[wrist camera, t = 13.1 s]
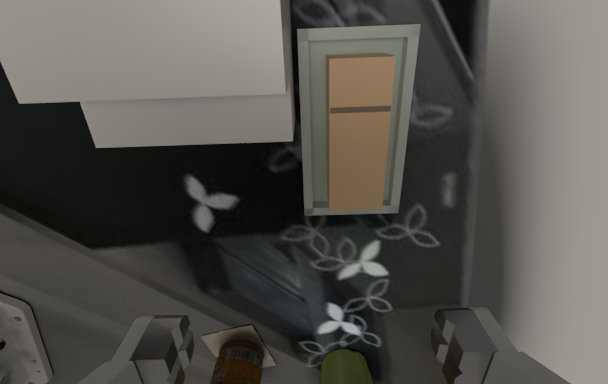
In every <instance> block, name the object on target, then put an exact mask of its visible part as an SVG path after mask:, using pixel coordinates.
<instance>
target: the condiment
mask: <svg viewBox="0 0 608 384" xmlns="http://www.w3.org/2000/svg"><path fill="white" fill-rule="evenodd" d="M201 338H202V339H203V341H204V342H205V343H206V345H207V346H208V348H209V349H210V350H211V352H212V353H213V354H214V355H215V356H216V358H217V362H216V365H215V369H214V372H213V377H212V379H211V382H210V384H260V381H261V374H262V368H263V367H270V366H274V365H276V364H275V362H274V360H273V358H272V356H271V355H270V353H269V351H268V350H267V348H266V347H265V345H264V344H263V343H262V341H261V339H260V337H259V335H258V334H257V332H256V331H255V329H254V328H253V326H252V325H250V326H243V327H238V328H233V329H229V330H225V331H220V332H217V333H212V334H209V335H205V336H201ZM252 340H253V341H252ZM222 341H224V342H223V344H222Z"/></svg>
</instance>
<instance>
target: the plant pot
mask: <svg viewBox="0 0 608 384" xmlns="http://www.w3.org/2000/svg"><path fill="white" fill-rule="evenodd" d="M320 384H373V381H372V378H371V375H370V372H369V369H368V366H367V363H366V360H365V358H364V356H363V355H362V354H361V353H359V352H352V351H350V350H348V349H339V350H335V351H332V352H330V353H328V354H327V355H326V356H325V358H324V359H323V361H322V362H321V374H320Z"/></svg>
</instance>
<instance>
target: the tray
mask: <svg viewBox="0 0 608 384" xmlns="http://www.w3.org/2000/svg"><path fill="white" fill-rule="evenodd" d="M420 26H421V24H410V25H386V26H361V27H337V28H312V29H297V40H298V65H299V89H300V113H301V138H302V162H303V187H304V211H305V216H310V215H345V214H380V213H398V211H399V203H400V194H401V186H402V177H403V169H404V161H405V152H406V144H407V135H408V127H409V118H410V110H411V102H412V93H413V85H414V76H415V68H416V59H417V51H418V42H419V34H420ZM361 53H386V54H390V55H393V56H396V61H395V72H394V84H393V95H392V106H391V117H390V128H389V140H388V151H387V162H386V173H385V184H384V195H383V207H382V209H378V210H345V211H329V204H328V197H327V179H326V55H336V54H361Z"/></svg>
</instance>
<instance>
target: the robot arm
mask: <svg viewBox="0 0 608 384" xmlns="http://www.w3.org/2000/svg"><path fill="white" fill-rule="evenodd" d="M434 318H435V320H436V322H437V323H436V324H435V325H434V326H433V327H432V330H431V344H432V347H433V351H434V353H435V356H436V358H437V359H439V360H440V361H441V362H442V363H443V364H444V366H443V369H442V372H443V374H444V377H445V379H446V381H447V384H570V383H569V382H567V381H566V380H564V379H563V378H561V377H560V376H558V375H557V374H555V373H554V372H552V371H551V370H549V369H548V368H546V367H545V366H543V365H542V364H540V363H539V362H537V361H536V360H534V359H533V358H531V357H530V356H528V355H527V354H525V353H524V352H518V351H517V350H516V348H515V347H514V346H513V344H512V343H511V341H510V340H509V339H508V337H507V336H506V334H505V333H504V331H503V330H502V329H501V327H500V326H499V324H498V323H497V321H496V320H495V319H494V317H493V316H492V315H491V313H490V312H489V310H488V309H486V308H485V307H484V308H482V307H481V308H447V309H437V311H436V312H435V316H434ZM189 324H190V322H189V319H188V316H185V315H152V316H139V317H137V318H136V319H135V321H134V322H133V324H132V326H131V327H130V329H129V331H128V332H127V334H126V336H125V338H124V339H123V341H122V343H121V344H120V346H119V348H118V349H117V351H116V353H115V354H114V356H113V358H112V360H111V361H110V362H105V363H103V364H102V365H101V366H99V367H98V368H97V369H96V370H94V371H93V372H92V373H90V374H89V375H88V376H86V377H85V378H84V379H82V380H81V381H80V382H78V383H77V384H183V382H184V379H185V375H184V372H183V370H184V369H185V368H186V367H187V366H188V365H189V364H190V361H191V358H192V355H193V348H194V338H193V333H192V332H191V331H189V330H188V327H189ZM52 377H53V373H52V370H51V367H50V364H49V361H48V358H47V355H46V352H45V349H44V346H43V343H42V340H41V337H40V334H39V331H38V328H37V325H36V322H35V319H34V316H33V313H32V310H31V308H30V306H29V305H28V304H26V303H25V302H23V301H20V300H18V299H15V298H13V297H10V296H7V295H4V294H2V293H0V384H45V383H47V382H48V381H49V380H50V379H51V378H52Z"/></svg>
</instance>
